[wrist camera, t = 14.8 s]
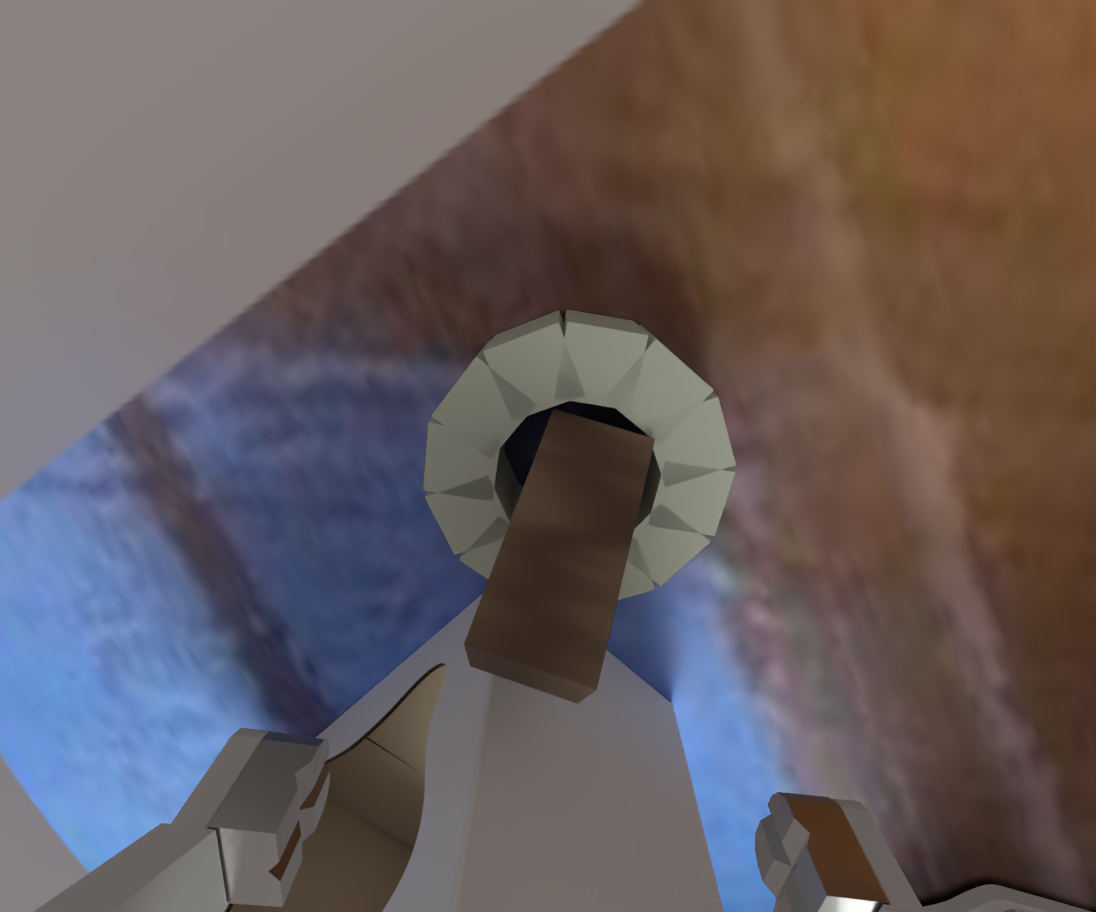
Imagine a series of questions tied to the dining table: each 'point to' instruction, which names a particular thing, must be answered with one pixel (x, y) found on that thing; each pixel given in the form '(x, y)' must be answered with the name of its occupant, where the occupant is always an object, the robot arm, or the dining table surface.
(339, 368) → the dining table surface
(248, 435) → the dining table surface
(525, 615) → the brown wooden block
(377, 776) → the gable box
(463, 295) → the dining table surface
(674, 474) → the bead
